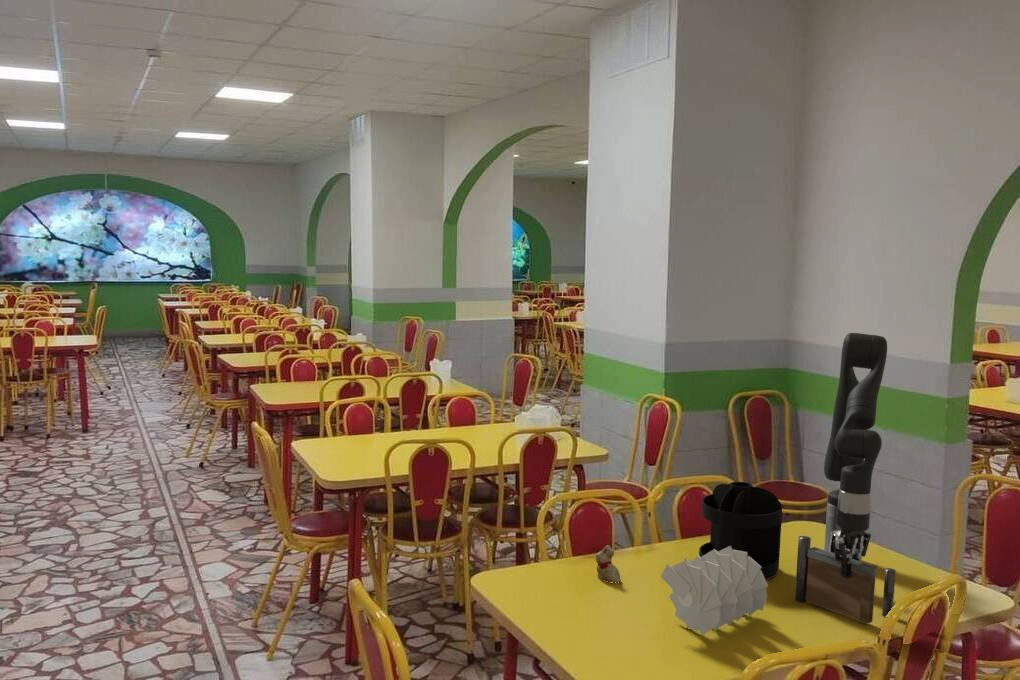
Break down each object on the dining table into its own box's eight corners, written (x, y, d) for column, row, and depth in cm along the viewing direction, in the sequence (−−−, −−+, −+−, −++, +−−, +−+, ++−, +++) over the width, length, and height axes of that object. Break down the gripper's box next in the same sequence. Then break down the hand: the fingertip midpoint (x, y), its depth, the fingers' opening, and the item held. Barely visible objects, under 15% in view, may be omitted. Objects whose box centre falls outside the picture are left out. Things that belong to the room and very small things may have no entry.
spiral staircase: (756, 631, 214) (696, 654, 198) (706, 582, 226) (645, 600, 210) (790, 576, 207) (730, 595, 191) (737, 528, 219) (676, 543, 203)
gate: (811, 598, 224) (814, 546, 222) (872, 621, 210) (876, 566, 209) (804, 601, 222) (807, 549, 220) (866, 624, 208) (870, 568, 207)
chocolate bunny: (611, 573, 240) (613, 538, 239) (622, 583, 233) (624, 548, 232) (593, 574, 239) (594, 540, 238) (604, 585, 231) (605, 549, 230)
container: (744, 551, 261) (748, 471, 258) (793, 578, 240) (799, 492, 237) (682, 559, 253) (686, 476, 251) (727, 587, 232) (732, 497, 229)
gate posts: (795, 597, 226) (799, 535, 225) (892, 614, 217) (896, 549, 215) (794, 601, 223) (798, 538, 222) (892, 618, 214) (897, 553, 213)
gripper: (855, 500, 219) (851, 565, 220) (824, 509, 210) (819, 577, 212) (883, 507, 213) (879, 574, 214) (852, 517, 204) (847, 586, 206)
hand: (849, 575), depth 213 cm, fingers closed on gate, 3 cm apart
